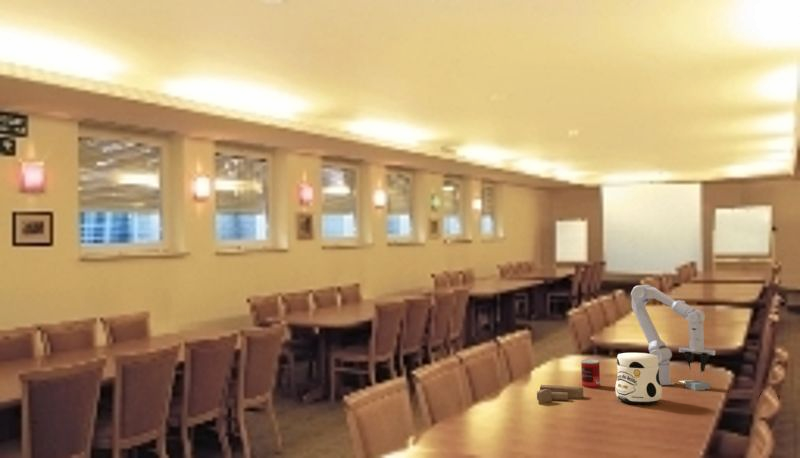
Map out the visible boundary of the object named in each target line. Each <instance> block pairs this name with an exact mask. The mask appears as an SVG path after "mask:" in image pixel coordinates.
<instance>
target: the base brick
mask: <svg viewBox="0 0 800 458" xmlns="http://www.w3.org/2000/svg"><path fill="white" fill-rule="evenodd" d="M684 381H685V380H684ZM684 385H685V388H687V389H689V388H690V390H692V389H693V391H706V390H705V389H710V390H711V382H707V381H704V380H703V379H695V380H694V379H691V381H685V384H684Z"/></svg>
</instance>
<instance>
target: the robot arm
mask: <svg viewBox="0 0 800 458" xmlns="http://www.w3.org/2000/svg"><path fill="white" fill-rule="evenodd" d="M630 297H631V309H632V311H633V313H634V316H635V318H636V320H637V322H638V324H639V326H640V328H641V330H642V332H643V334H644V336H645V338H646V341H647V343H648V348H647V349H648V352H649V354H653V355H657V356H658V361H659V381H660V384H661V386H669V385H675V383H674V382H671V361H670V360H671V358H673V353H672V350H671V349H670V348H669V347H668V346H667V344H666V343H665V342H664V341H663V340H662V338H661V337H660V335H659V333H658V332H657V329H656V327H655V325H654V323H653V321H652V318H651V317H650V315H649V312H648V310H647V309H646V305H647V304H648V302H649V300H650V299H651V300H653V299H654V300H657V301H658V302H660V303H663V304H664V305H667V306H668V307H670V308H671V310H672V312H673V313H674V314H676V315H677V316H680V317H681V318H683V319H685V320H686V321H687V323H688V341H689V342H688V343H689V347H685V346H684V347H683V346H680V347H679V346H678V353H684V354H683V355H684V357H685V359H686V361H687V364H688V366H689V368H690V363H692V362H694V357H695V356H694V355H695V354H699V359H700V363H701V371H702V372H703V373H704V372H705V370H706V365H707V362H708V359H709V358H710V357H711V356H715V355H716V349H709V348H705V342H704V341H705V336H704V335H705V334H704V322H705V321H706V314H705V312H704V311H702V310H701V309H697V308H696V307H695V306H691V305H689V304H687V303H686V301H685V300H681V299H678V300H675V299H674V298H672V297H670V296H668V295H667V294H665V293H664V292H662V291H661V290H659V289H658V288H657V287H654V286H652V285H651V284H647V283H646V284H641V285H635V286H634V287H633V288H632V290H631V292H630Z"/></svg>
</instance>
